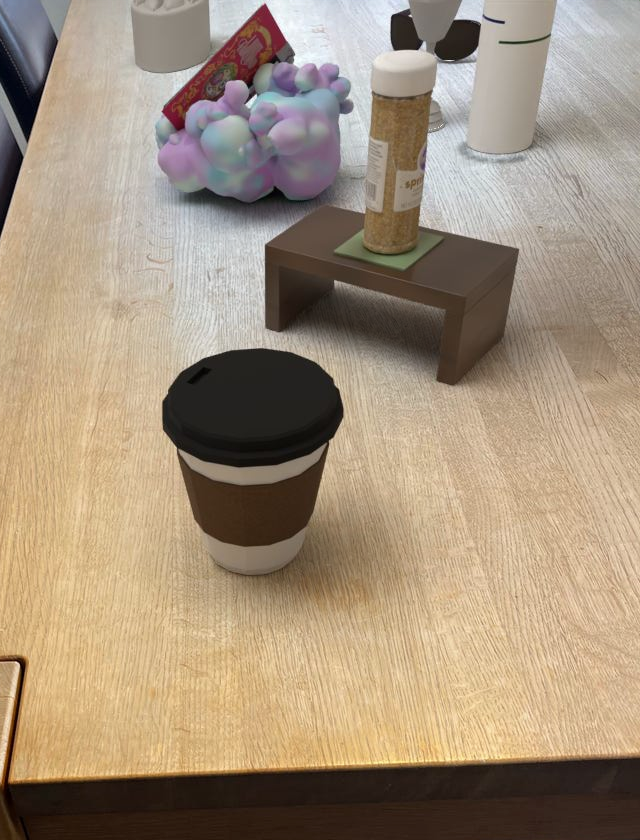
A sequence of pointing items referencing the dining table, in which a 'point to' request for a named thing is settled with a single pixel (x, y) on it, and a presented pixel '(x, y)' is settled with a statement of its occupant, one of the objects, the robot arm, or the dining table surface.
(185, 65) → the lumpy-topped squat cylinder
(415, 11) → the chalice
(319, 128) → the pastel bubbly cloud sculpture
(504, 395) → the dining table surface
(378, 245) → the brown spice jar
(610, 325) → the dining table surface
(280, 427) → the coffee cup
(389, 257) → the low table
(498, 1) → the cylindrical container
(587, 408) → the dining table surface
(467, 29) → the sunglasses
